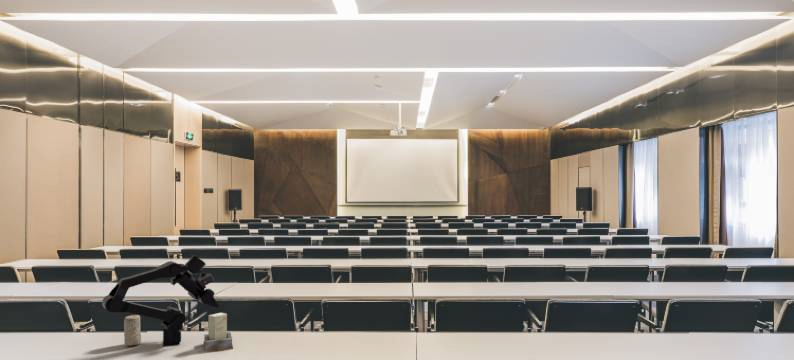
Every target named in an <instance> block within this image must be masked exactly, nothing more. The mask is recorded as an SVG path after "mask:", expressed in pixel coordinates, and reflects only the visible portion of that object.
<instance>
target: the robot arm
mask: <svg viewBox="0 0 794 360" xmlns="http://www.w3.org/2000/svg"><path fill="white" fill-rule="evenodd" d="M206 265H207V264H206V262H205V261H204V260H202V259H201V258H199V257H197V256H196V255H195V254H193V255H192V256H190V258H189V259H188V261H187V262H186V263H177V262H175V261H173V260H170V261H167V262H164V263H163V264H161V265H159V266H158V267H156V268H153V269H150V270H146V271H143V272H140V273H137V274H134V275H131V276H126V277H122V278H120V279H119V280H118V281H117V283H116V285H115V286H114V287H113V288H112V289H111V290H110V292H109V293H108V294H107V295H105V296H104V297H103V298H102V301H101V305H102V307H103V308H104V309H105V310H106V311H107V312H109V313H129V314H133V315H139V316H144V317H148V318H153V319H157V320H162V322H161V326H162V336H163V337H162V338H163V339H162V347H169V346H179V345H180V344H181V342H182V330H181V329H182V326H183V324H184V323H185V321H186V315H185V313H184V312H183V311H182V310H181V309H179V308H177V307H171V306H167V308H166V309H165V308H164V309H163V308H156V307H155V306H149V305H146V304H145V305H144V304H140V303H135V302H131V301H128V300H126V299H125V297H126V295H127V293H128V290H129V289H130V288H133V287H136V286H139V285H143V284H145V283H148V282H153V281H155V280H158V279H167V278H168V279H169V278H170V285H173V286H175V285H176V284H178V285H179V286H181V287H182V288H183V290H185V291H186V292H187V294H188V296H189V297H191V298H192V299H194V300H198V301H199V302H200V303H201V304H203V305H207V306H211V307H214V308H216V309H218V308H219V307H220V305H219V303H218V302H217V300H216V299H215V297H214V296H215V291H214V290H212V289H211V288H207V285H209V284H210V283H214V282H215V278H214V276H213V275H212V274H211V273H210V272H209V273H208V272H207V273H205V272H201V270H203V268H205V266H206ZM200 272H201V273H200ZM198 274H199V277H198V278H194V277H193V276H194V275H198Z"/></svg>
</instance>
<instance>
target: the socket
mask: <svg viewBox="0 0 794 360" xmlns="http://www.w3.org/2000/svg"><path fill="white" fill-rule="evenodd" d="M203 337H204V338H203V352H204V353H208V352H209V353H210V352H216V351H218V352H219V351H226V350H233V349H234V346H233V337H232V333H231V331H227V339H218V340H209V341H208V333H207V334H205V333H204V334H203Z"/></svg>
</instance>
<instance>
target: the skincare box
mask: <svg viewBox="0 0 794 360" xmlns="http://www.w3.org/2000/svg"><path fill="white" fill-rule="evenodd" d="M227 332H228V314H227V313H226V312H218V313H213V314H209V315H208V333H207V334H208V341H209V340H218V339H227Z"/></svg>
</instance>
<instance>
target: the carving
mask: <svg viewBox="0 0 794 360" xmlns="http://www.w3.org/2000/svg"><path fill="white" fill-rule="evenodd" d="M123 329H124V330H123V332H124V333H123V337H124V339H123V340H124V341H123V342H124V345H125V346H126V347H131V346H136V345H140V344H141V341H142V335H141V315H138V314H132V315H128V316H125V318H124V320H123Z"/></svg>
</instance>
